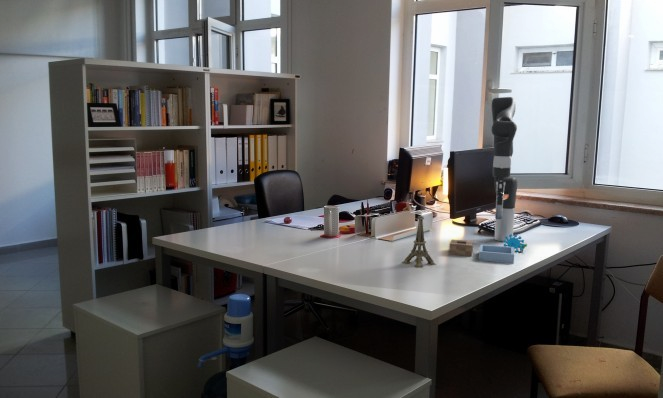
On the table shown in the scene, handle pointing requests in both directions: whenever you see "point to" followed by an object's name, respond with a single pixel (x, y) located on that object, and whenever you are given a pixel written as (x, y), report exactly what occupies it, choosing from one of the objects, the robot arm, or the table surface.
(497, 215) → the peg
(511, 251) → the tray
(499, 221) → the robot arm
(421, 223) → the eiffel tower
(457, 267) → the table surface
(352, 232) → the table surface
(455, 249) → the pin block
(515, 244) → the gear
